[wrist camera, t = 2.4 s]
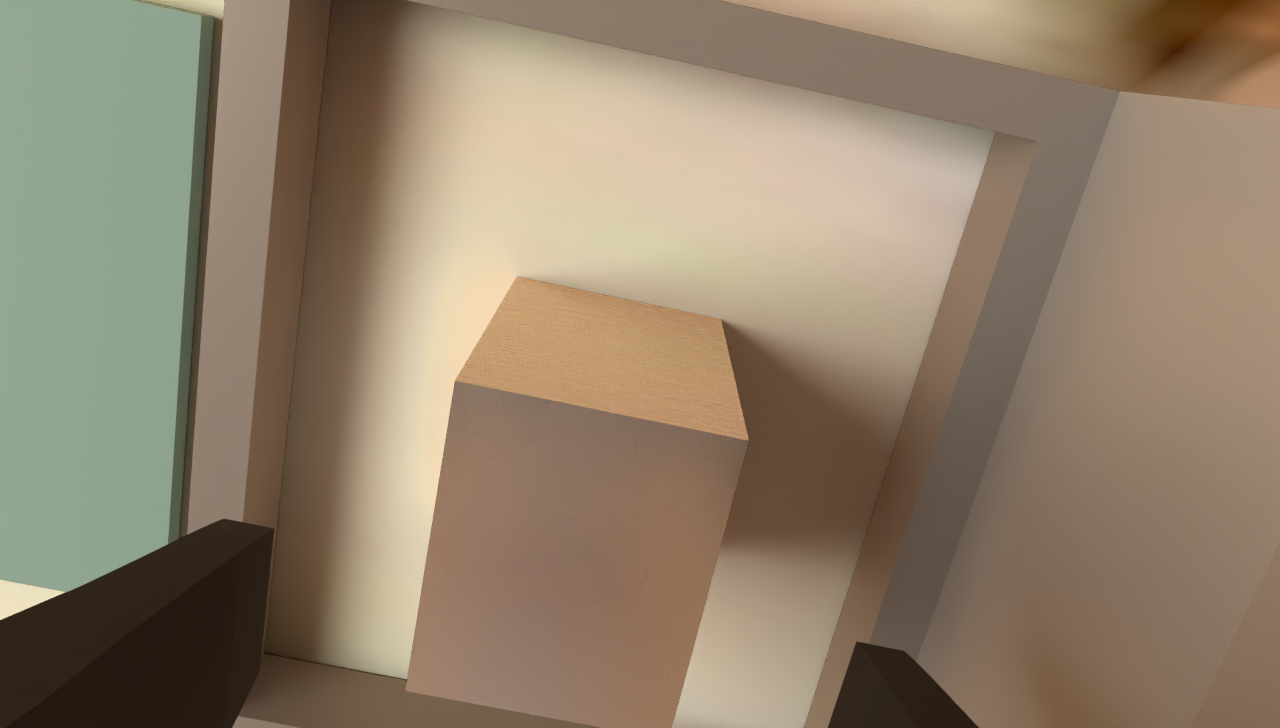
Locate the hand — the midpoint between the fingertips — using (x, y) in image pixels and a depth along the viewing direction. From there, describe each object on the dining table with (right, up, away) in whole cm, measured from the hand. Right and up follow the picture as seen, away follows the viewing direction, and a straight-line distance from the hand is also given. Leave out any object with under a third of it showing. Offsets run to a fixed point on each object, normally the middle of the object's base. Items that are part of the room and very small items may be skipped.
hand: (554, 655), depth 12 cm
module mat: (-12, +5, +7) cm, 14 cm away
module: (0, +2, +8) cm, 8 cm away
